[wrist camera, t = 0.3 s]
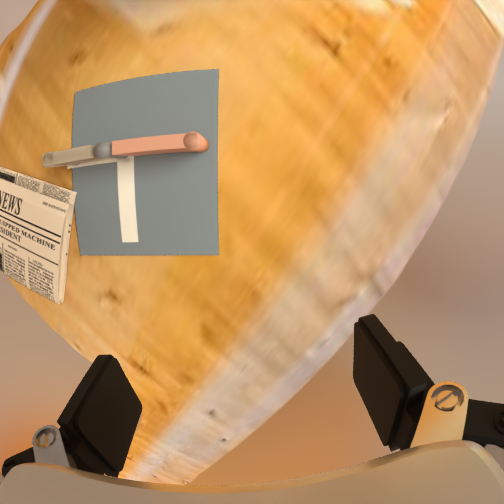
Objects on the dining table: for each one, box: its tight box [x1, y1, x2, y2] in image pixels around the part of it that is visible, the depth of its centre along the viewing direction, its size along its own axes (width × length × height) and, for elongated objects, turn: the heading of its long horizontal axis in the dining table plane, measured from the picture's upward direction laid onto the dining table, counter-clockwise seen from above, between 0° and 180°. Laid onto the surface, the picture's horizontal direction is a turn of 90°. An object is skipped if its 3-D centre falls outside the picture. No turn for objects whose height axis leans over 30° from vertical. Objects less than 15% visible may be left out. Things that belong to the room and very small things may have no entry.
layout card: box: [67, 69, 219, 255], centre depth 35 cm, size 26×24×1 cm
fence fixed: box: [43, 145, 115, 168], centre depth 31 cm, size 2×8×8 cm, turn 89°
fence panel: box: [94, 131, 209, 159], centre depth 31 cm, size 13×2×7 cm, turn 90°
